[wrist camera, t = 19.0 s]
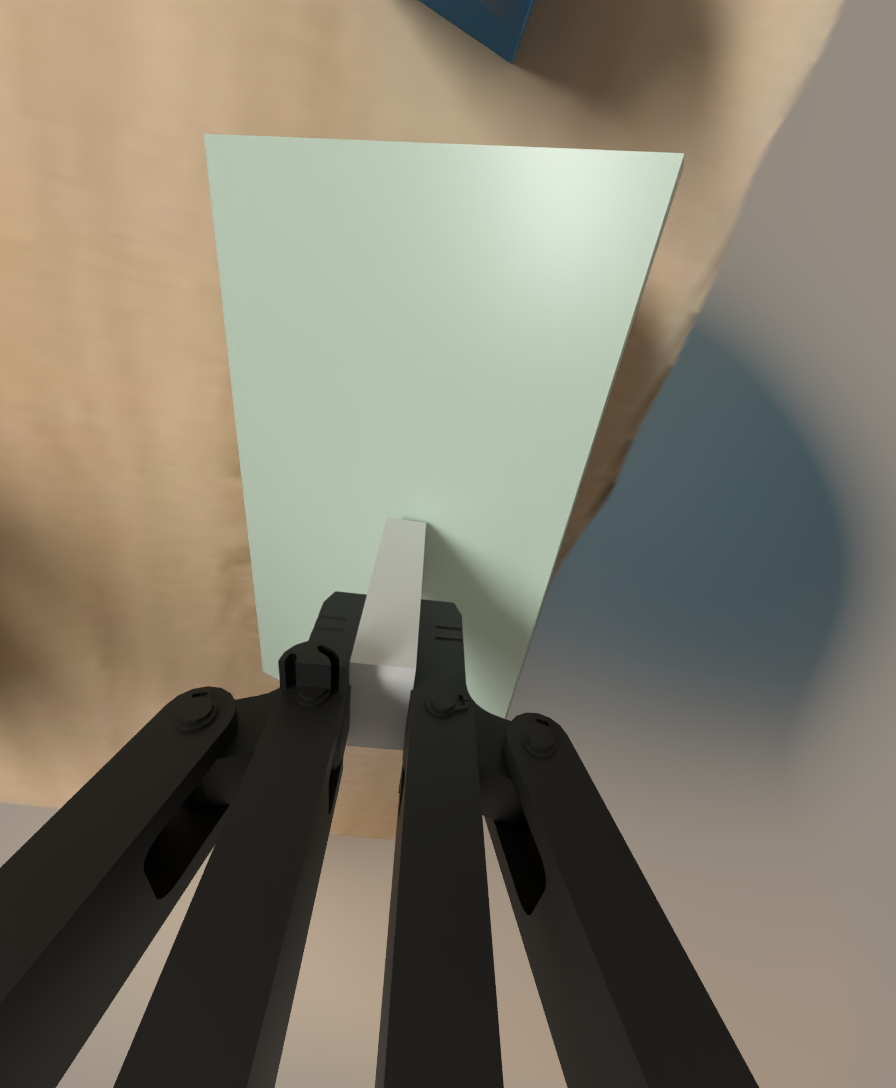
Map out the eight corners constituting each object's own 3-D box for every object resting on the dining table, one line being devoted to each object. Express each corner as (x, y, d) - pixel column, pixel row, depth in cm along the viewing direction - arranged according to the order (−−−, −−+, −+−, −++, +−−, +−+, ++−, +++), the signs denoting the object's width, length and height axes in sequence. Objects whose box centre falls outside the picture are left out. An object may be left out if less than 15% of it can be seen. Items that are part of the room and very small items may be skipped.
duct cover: (273, 659, 24) (260, 670, 23) (227, 146, 13) (198, 133, 12) (489, 771, 20) (482, 789, 19) (682, 169, 9) (684, 153, 8)
